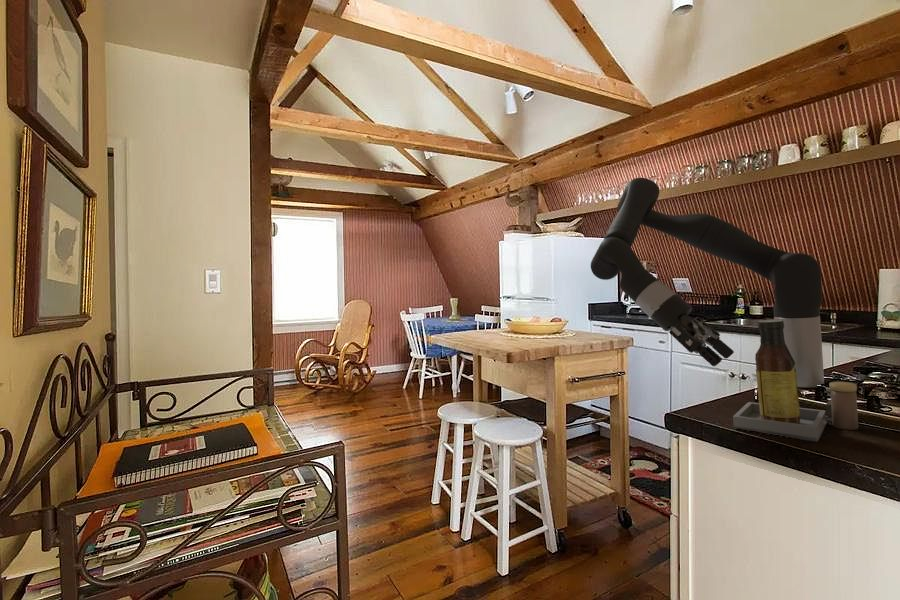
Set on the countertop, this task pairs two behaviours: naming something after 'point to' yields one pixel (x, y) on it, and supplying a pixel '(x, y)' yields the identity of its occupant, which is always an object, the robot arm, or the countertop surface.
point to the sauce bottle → (776, 375)
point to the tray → (782, 423)
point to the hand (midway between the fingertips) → (724, 359)
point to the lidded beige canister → (844, 405)
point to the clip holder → (829, 410)
